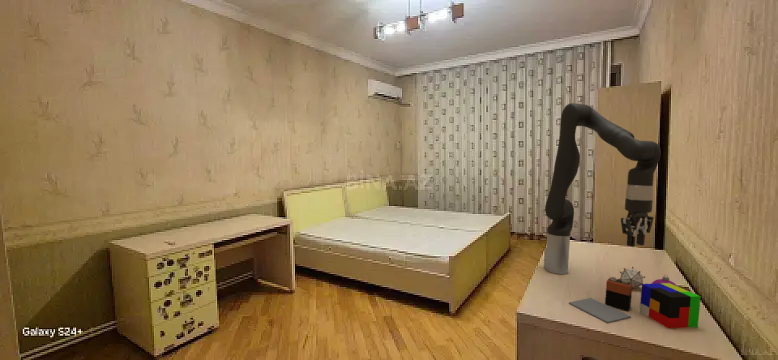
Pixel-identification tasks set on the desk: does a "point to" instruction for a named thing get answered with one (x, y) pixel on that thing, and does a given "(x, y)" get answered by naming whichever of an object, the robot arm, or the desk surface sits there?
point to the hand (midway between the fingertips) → (635, 245)
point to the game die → (632, 277)
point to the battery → (618, 293)
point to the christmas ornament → (664, 281)
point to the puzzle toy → (670, 305)
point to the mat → (600, 310)
